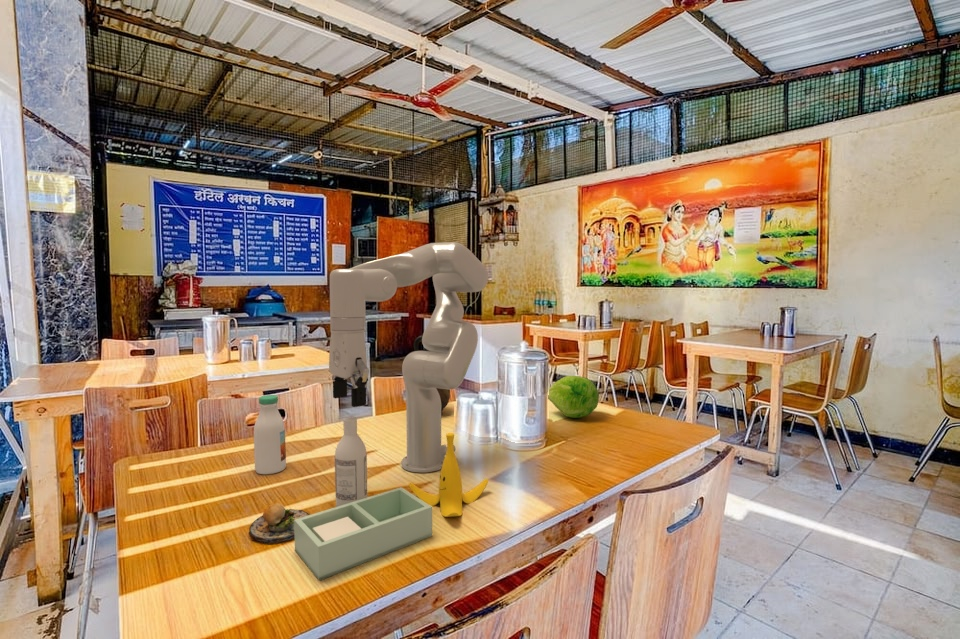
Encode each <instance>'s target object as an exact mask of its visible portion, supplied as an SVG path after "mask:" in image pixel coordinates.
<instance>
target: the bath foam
mask: <svg viewBox="0 0 960 639" xmlns="http://www.w3.org/2000/svg"><path fill="white" fill-rule="evenodd" d="M342 420H343V422H342V424H343V435H342V436H341V438H340V439H339V442H338V443H337V446H336V448H335V451H334V453H335V454H334V478H335V486H334V487H335V490H334V491H335V507H338V506H341V505H344V504H348V503H351V502H354V501H357V500H361V499H364V498H367V497H368V458H367V457H368V456H367V455H368V453H367V448H366V445H365V442H364V440H363V439H362V438H361V437H360V436H359V434H358V423H357V422H358V418H357V417H356V416H347V417H344V418H343V419H342Z"/></svg>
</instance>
